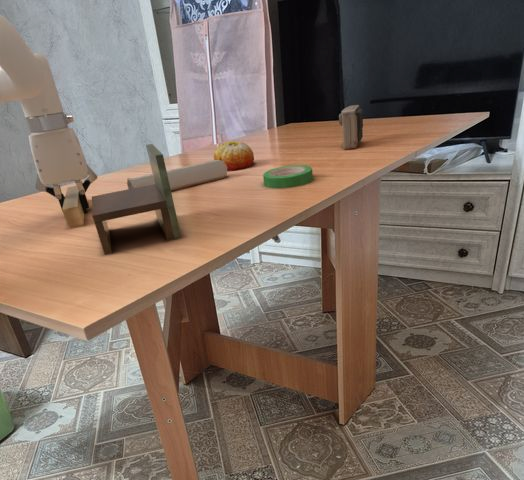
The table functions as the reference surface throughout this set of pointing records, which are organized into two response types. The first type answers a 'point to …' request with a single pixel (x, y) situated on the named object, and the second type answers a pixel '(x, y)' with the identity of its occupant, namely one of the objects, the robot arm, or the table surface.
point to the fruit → (235, 155)
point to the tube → (185, 175)
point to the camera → (351, 126)
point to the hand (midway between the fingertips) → (77, 212)
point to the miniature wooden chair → (138, 203)
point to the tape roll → (288, 176)
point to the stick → (73, 208)
